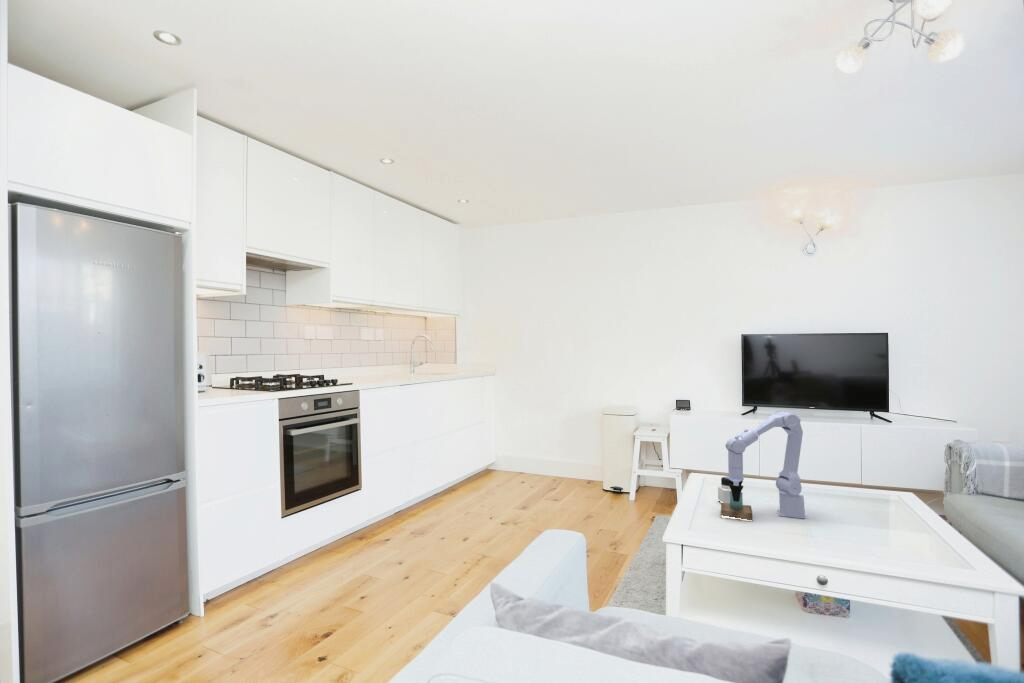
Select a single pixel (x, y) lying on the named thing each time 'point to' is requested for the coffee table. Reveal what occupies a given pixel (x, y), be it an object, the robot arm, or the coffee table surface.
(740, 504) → the teal tin
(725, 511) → the walnut block
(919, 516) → the coffee table surface
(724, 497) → the medicine bottle
